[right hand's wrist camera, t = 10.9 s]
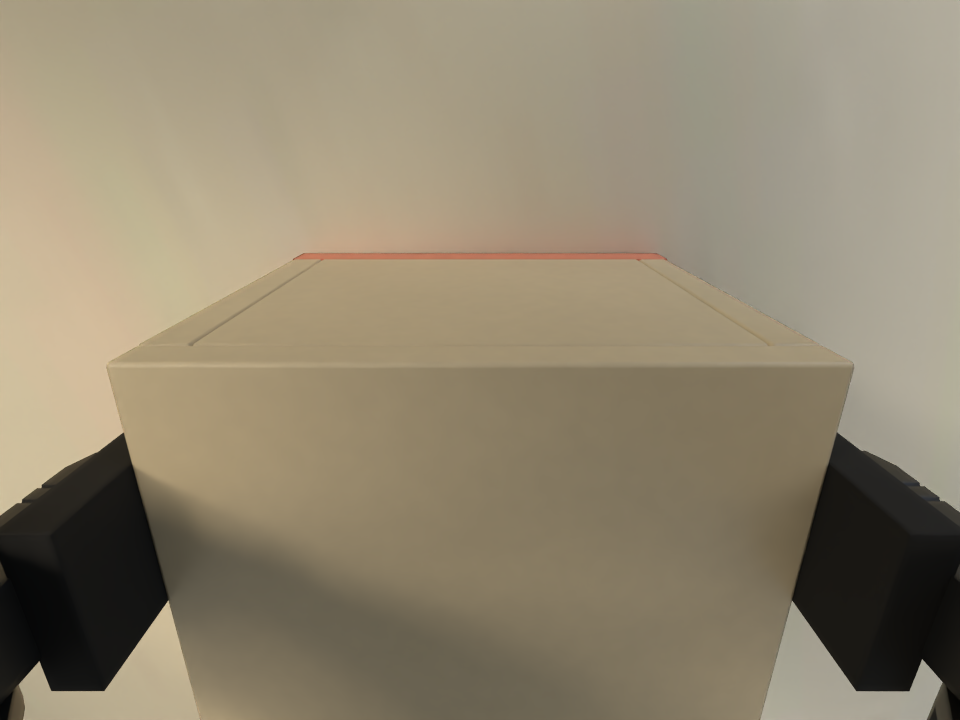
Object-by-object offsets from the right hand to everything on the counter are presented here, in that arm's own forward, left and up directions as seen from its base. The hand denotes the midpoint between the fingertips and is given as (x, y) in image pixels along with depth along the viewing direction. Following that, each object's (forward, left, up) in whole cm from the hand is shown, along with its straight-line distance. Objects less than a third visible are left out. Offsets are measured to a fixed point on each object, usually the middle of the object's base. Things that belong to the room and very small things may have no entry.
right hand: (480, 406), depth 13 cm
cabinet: (+3, -5, -4) cm, 8 cm away
